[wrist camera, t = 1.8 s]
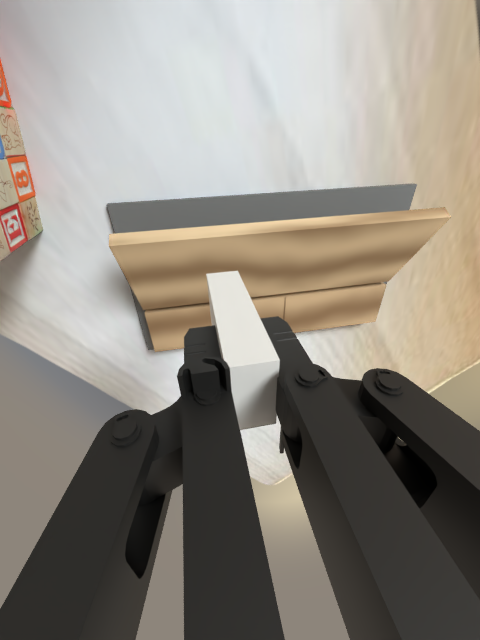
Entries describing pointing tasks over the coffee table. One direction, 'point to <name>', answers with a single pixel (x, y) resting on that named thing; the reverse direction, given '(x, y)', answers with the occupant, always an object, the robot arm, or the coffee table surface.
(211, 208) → the underlay
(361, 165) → the coffee table surface
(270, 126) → the coffee table surface
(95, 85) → the coffee table surface
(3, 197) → the stack of blocks
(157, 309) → the laid plank
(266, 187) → the coffee table surface
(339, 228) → the board
